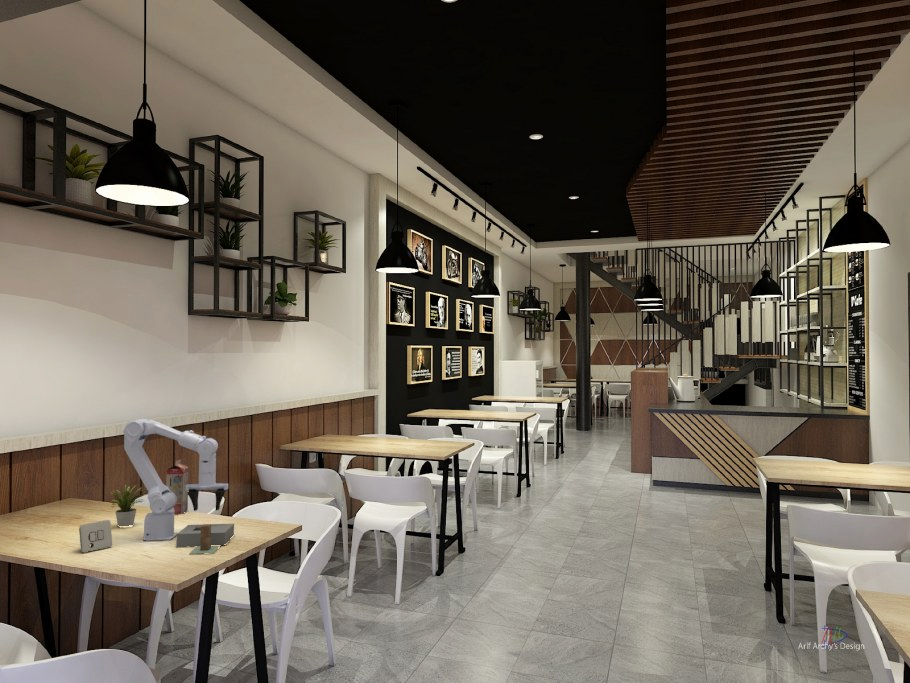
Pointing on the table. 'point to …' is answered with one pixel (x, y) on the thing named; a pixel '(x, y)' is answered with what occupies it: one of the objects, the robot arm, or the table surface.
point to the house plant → (126, 506)
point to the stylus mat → (197, 551)
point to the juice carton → (178, 486)
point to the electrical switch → (95, 535)
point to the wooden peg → (205, 537)
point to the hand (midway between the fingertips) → (206, 509)
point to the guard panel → (193, 535)
